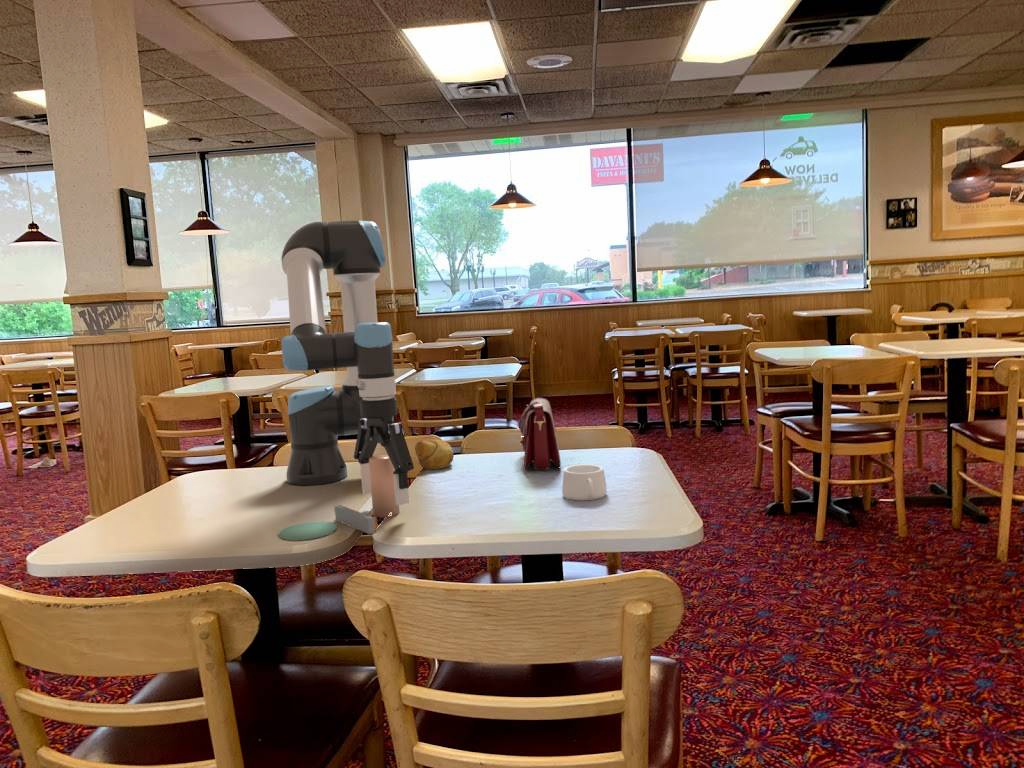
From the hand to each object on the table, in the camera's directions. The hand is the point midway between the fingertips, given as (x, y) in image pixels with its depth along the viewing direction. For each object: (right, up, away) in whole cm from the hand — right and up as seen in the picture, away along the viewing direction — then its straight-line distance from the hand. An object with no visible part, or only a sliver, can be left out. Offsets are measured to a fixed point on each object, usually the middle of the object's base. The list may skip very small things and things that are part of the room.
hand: (385, 498), depth 158 cm
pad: (-13, -5, -10) cm, 17 cm away
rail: (-5, -4, -8) cm, 10 cm away
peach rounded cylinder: (0, -3, 0) cm, 3 cm away
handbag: (+34, +3, +42) cm, 54 cm away
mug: (+43, -1, +6) cm, 43 cm away
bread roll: (+6, +2, +45) cm, 45 cm away
